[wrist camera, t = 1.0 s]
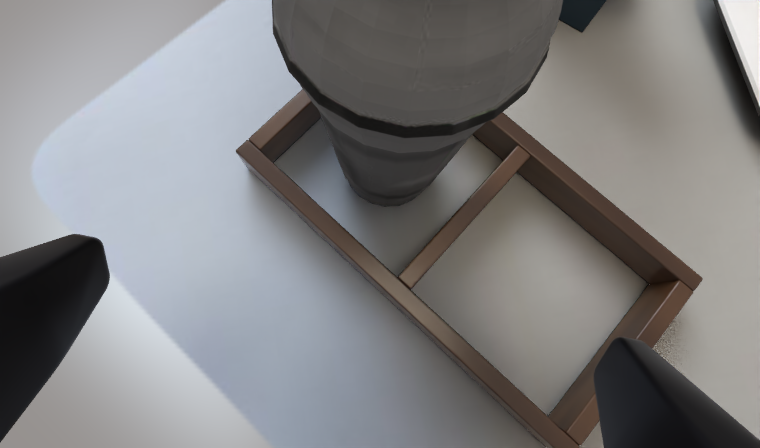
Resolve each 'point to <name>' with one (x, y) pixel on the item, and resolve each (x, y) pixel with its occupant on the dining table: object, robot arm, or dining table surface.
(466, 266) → the dining table surface
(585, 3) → the watch
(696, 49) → the dining table surface
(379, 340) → the dining table surface
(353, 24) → the beverage cup
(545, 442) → the frame
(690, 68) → the dining table surface
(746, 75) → the plate
